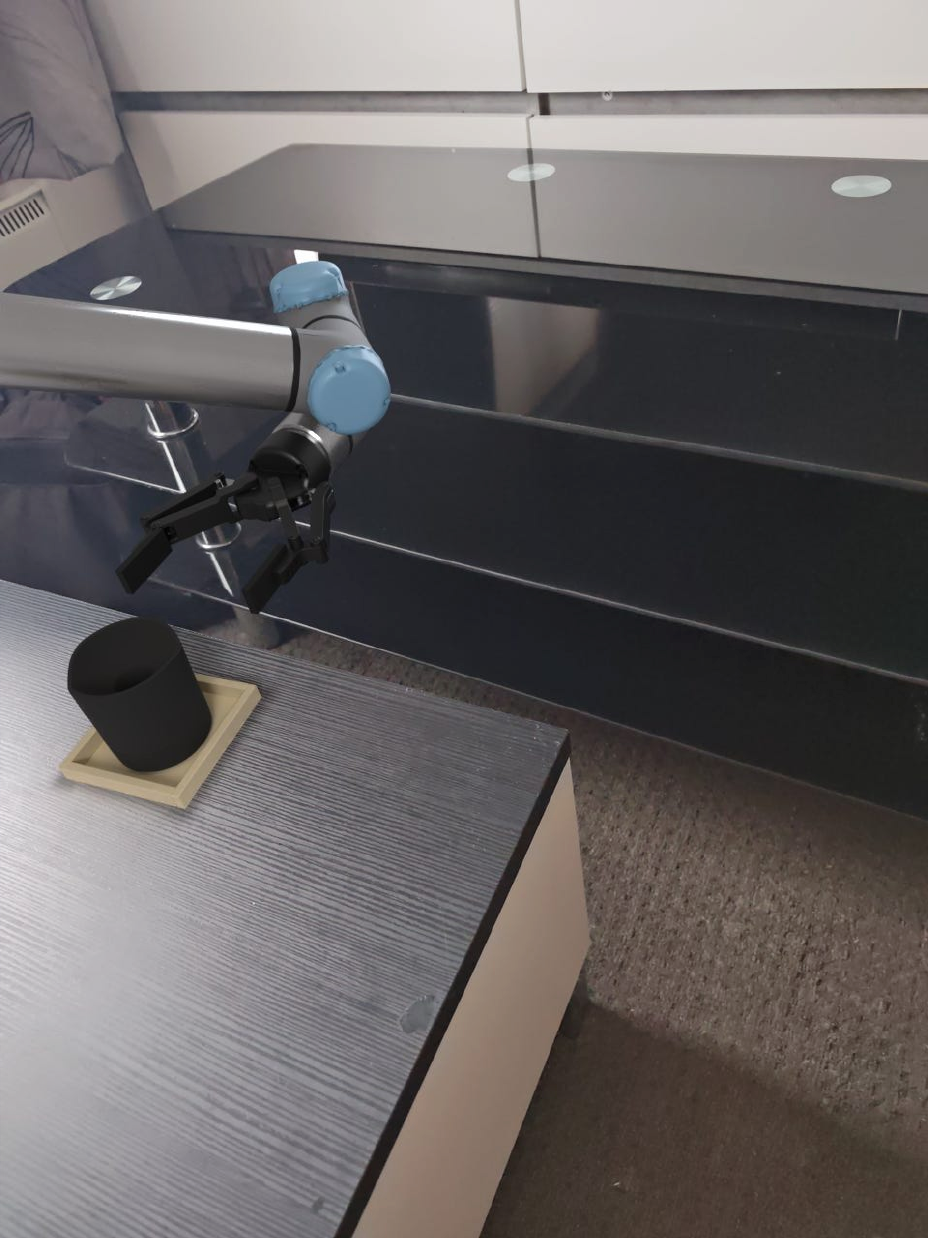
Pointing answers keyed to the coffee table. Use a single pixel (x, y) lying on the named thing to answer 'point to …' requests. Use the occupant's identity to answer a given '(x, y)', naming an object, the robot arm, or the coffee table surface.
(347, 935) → the coffee table surface
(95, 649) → the pen holder
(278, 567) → the robot arm
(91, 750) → the pad
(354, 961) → the coffee table surface
